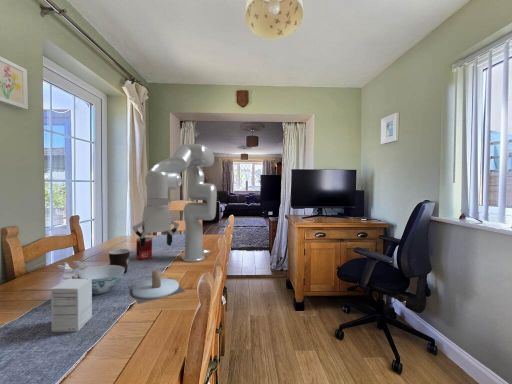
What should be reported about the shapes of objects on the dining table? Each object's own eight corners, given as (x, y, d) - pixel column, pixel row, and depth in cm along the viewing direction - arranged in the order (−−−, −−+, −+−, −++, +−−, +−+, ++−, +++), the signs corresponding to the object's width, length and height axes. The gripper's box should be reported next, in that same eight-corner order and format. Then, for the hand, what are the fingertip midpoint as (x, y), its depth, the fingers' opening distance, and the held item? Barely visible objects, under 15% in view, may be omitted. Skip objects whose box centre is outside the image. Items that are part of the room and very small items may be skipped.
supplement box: (67, 318, 78) (67, 278, 77) (92, 317, 78) (92, 278, 78) (50, 332, 70) (49, 288, 70) (78, 332, 71) (78, 288, 70)
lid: (170, 277, 111) (170, 262, 110) (185, 291, 97) (185, 273, 97) (128, 286, 100) (128, 269, 100) (138, 303, 87) (138, 283, 87)
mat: (170, 279, 111) (170, 277, 111) (185, 292, 97) (185, 291, 97) (127, 288, 100) (128, 286, 100) (138, 305, 87) (138, 303, 87)
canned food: (154, 257, 142) (155, 237, 141) (144, 261, 134) (144, 240, 134) (144, 255, 144) (144, 236, 144) (133, 259, 137) (133, 239, 136)
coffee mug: (120, 277, 111) (120, 254, 111) (104, 275, 113) (104, 253, 113) (137, 268, 123) (138, 248, 123) (122, 266, 125) (122, 246, 124)
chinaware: (90, 304, 87) (91, 282, 86) (71, 293, 95) (71, 273, 94) (132, 289, 99) (132, 270, 99) (111, 280, 107) (111, 262, 107)
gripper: (175, 201, 106) (174, 242, 106) (130, 202, 95) (130, 247, 96) (182, 203, 100) (181, 245, 100) (135, 204, 89) (134, 251, 90)
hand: (156, 246), depth 98 cm, fingers open, 9 cm apart
